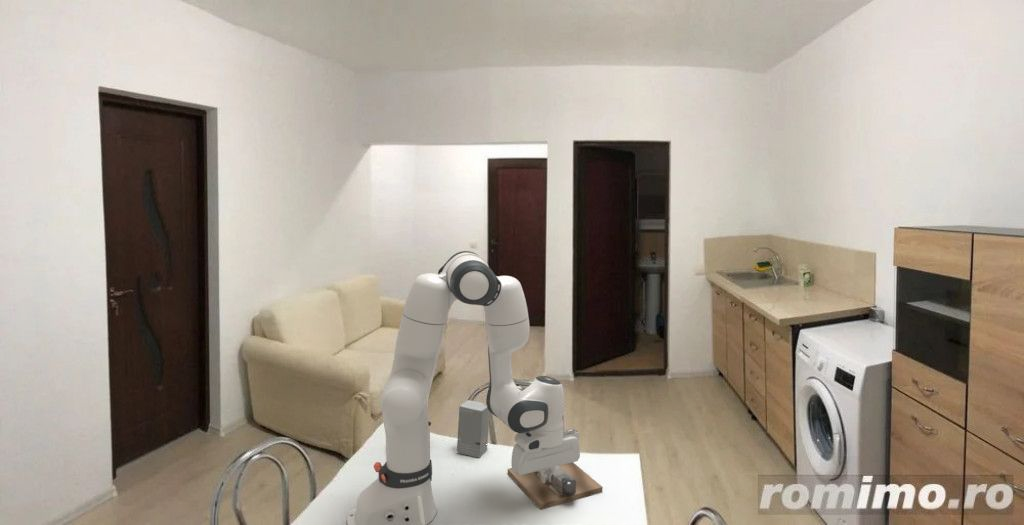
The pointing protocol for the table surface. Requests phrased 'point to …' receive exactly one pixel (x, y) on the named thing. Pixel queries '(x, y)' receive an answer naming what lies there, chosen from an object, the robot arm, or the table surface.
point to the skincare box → (473, 428)
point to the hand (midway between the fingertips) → (545, 481)
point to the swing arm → (563, 481)
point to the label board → (548, 493)
